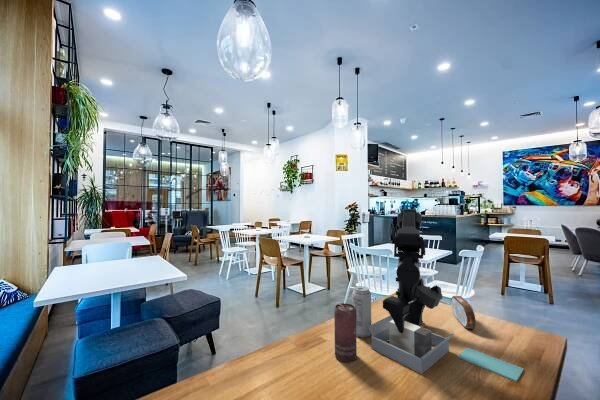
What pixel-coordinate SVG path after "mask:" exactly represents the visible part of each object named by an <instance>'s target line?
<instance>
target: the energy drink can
mask: <svg viewBox="0 0 600 400" xmlns="http://www.w3.org/2000/svg"><path fill="white" fill-rule="evenodd" d="M351 296H352V299H351V300H352V305H353V306H354V307H355V309H356V337H358V338H369V337H370V336H371V335H372V334H371V332H370V331H369V329H368V326H370V325H372V293H371V292H370V288H369V287H367V286H365V285H364V286H363V285H357V286H355V287H354V288H353V290H352V295H351Z"/></svg>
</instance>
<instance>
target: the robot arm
mask: <svg viewBox="0 0 600 400" xmlns="http://www.w3.org/2000/svg"><path fill="white" fill-rule="evenodd" d="M396 215H397V218H396V219H397V221H396V223H397V224H396V225H397V227H399V228H398V229H397V232H396V235H394V242H393V243H394V247H393V249H394V250H393V257H394V258H398V262H397V263H398V265H397V268H396V277H395V282H398V288H397V290H396V291H395V296H394V295H391V296H389V297H386V298H384V300H382V309H384V310H385V311H387V312H388V314H389V316H390V315H391V317H392V319H393V321H394V323H395V325H396V327H397V329H398V331H399V332H400V333H403V331H404V323H405V321H406V322H409V323H412V324H414V325H417V326H420V325H422V324H423V323H424V321H423V312H424V309H425V308H428V309H430V310H431V309H432V310H433V309H434V308H436V307H438V306H439V304H440V302H441V300H442V299H443V293H442V288H441V286H439V285H436V284H435V285H434V286H432V287H430V286H427V285H425V284H424V280H423V278H421V271H420V260H424V256H426V241H425V240H424V237H423V236H421V233H420V230H421V229H420V228H422V224H423V223H422V220H423V219H422V214H421V213H419V212H418V211H417V209H414V208H404V209H401V212H399V213H397V214H396Z"/></svg>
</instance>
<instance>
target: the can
mask: <svg viewBox="0 0 600 400" xmlns="http://www.w3.org/2000/svg"><path fill="white" fill-rule="evenodd" d="M333 313H334V314H333V315H334V317H333V318H334V321H333V322H334V323H333V325H334V356H335V357H336V359H337V360H339V361H340V362H344V363H350V362H353V361H354V360H356V359H357V354H358V353H357V352H358V351H357V336H356V309H355V307H354V306H353V304H350V303H337V304H336V305H335V307H334V312H333Z"/></svg>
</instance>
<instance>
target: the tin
mask: <svg viewBox="0 0 600 400" xmlns="http://www.w3.org/2000/svg"><path fill="white" fill-rule="evenodd" d="M451 309H452V313H453V316H454V317H455V319H456V321H458V323H460V325H461V326H462V327H463V328H465V329H472V330H473V329H475V328H476V324H477V321H476V315H475V311H474V309H473V307H472V305H471V303H470V302H468V300H466V299H465V298H464V297H463V296H462V295H453V296H451Z"/></svg>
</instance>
